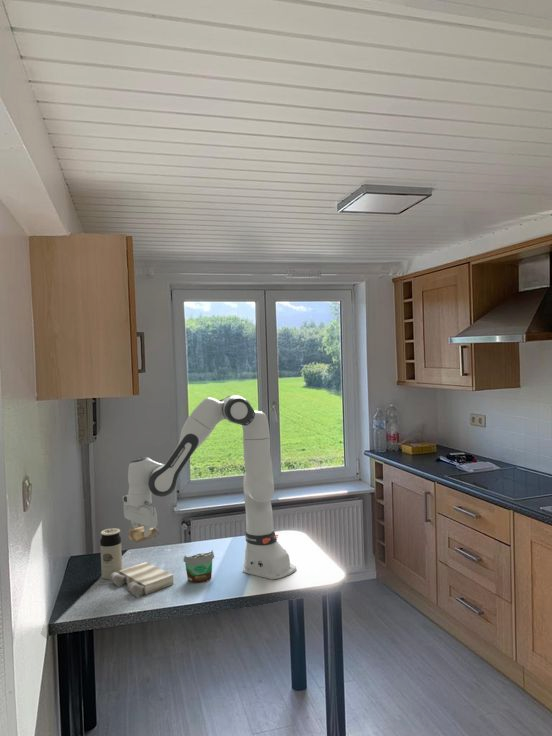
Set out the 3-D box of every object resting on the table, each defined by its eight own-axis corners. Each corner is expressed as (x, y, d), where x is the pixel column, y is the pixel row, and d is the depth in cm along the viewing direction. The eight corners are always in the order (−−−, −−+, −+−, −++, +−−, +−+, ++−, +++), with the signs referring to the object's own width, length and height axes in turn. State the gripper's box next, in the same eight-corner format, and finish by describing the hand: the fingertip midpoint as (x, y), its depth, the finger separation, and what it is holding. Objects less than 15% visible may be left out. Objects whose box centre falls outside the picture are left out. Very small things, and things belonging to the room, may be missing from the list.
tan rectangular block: (159, 536, 202) (159, 527, 202) (136, 542, 196) (136, 533, 196) (151, 532, 207) (151, 523, 207) (129, 538, 200) (128, 529, 200)
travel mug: (110, 570, 211) (108, 527, 211) (126, 572, 208) (124, 528, 208) (97, 578, 203) (95, 533, 203) (114, 580, 201) (112, 535, 200)
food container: (188, 587, 192) (188, 560, 192) (184, 581, 198) (183, 555, 198) (219, 579, 198) (218, 554, 198) (214, 574, 203) (213, 549, 203)
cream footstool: (173, 583, 196) (173, 574, 196) (135, 598, 184) (135, 588, 184) (146, 570, 210) (145, 561, 210) (109, 583, 199) (109, 573, 198)
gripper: (161, 502, 195) (161, 538, 195) (134, 493, 209) (135, 526, 209) (146, 505, 190) (147, 542, 190) (120, 496, 205) (121, 530, 205)
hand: (140, 534), depth 200 cm, fingers closed on tan rectangular block, 6 cm apart
